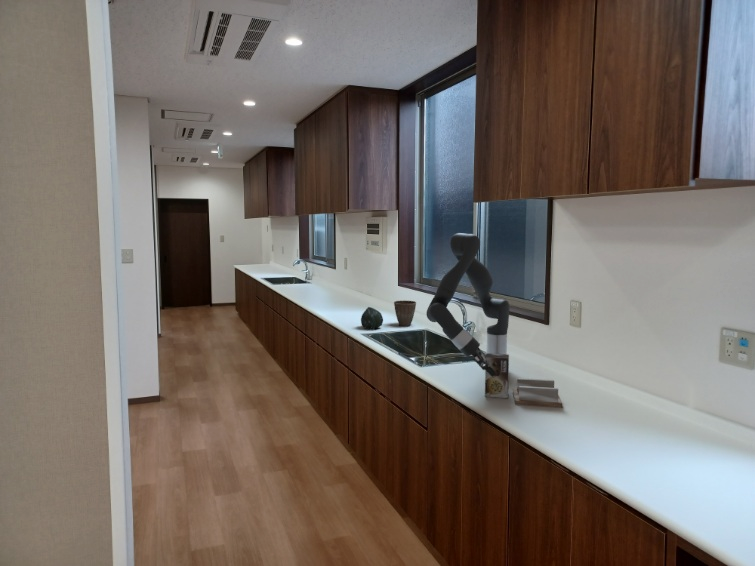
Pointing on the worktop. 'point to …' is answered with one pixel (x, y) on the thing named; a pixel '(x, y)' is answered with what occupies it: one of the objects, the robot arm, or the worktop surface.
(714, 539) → the worktop surface
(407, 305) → the plant pot
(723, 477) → the worktop surface
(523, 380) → the clevis cradle
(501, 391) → the coffee box
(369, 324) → the squash
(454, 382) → the worktop surface
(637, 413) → the worktop surface
